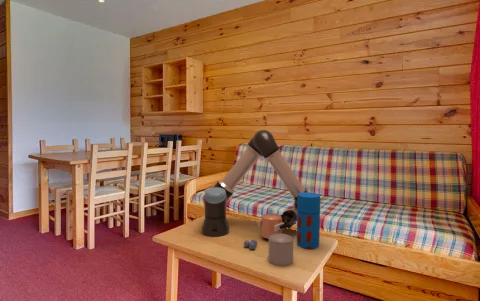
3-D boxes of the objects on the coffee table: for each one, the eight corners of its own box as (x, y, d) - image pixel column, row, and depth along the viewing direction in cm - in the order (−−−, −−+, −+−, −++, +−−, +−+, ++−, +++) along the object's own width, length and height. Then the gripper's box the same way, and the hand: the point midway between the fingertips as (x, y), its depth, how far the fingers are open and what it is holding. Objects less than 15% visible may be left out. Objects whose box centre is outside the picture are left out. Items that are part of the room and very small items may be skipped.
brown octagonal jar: (264, 260, 127) (264, 237, 126) (277, 253, 134) (278, 231, 134) (283, 268, 120) (283, 244, 119) (296, 260, 127) (297, 237, 127)
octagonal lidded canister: (257, 235, 152) (258, 216, 151) (269, 230, 159) (270, 212, 158) (273, 240, 145) (273, 221, 144) (285, 235, 152) (285, 216, 151)
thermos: (320, 250, 138) (321, 198, 135) (296, 248, 139) (297, 197, 137) (317, 241, 148) (319, 192, 146) (296, 239, 150) (297, 191, 148)
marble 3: (247, 249, 138) (247, 242, 138) (252, 247, 141) (252, 240, 141) (252, 251, 136) (252, 244, 136) (257, 249, 139) (257, 242, 138)
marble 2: (249, 246, 142) (249, 239, 142) (253, 244, 144) (253, 238, 144) (254, 248, 140) (254, 241, 139) (258, 246, 142) (258, 239, 142)
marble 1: (242, 247, 141) (242, 240, 141) (246, 245, 143) (246, 238, 143) (247, 249, 139) (247, 242, 138) (251, 246, 141) (251, 240, 141)
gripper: (308, 227, 157) (284, 239, 141) (274, 218, 172) (249, 227, 156) (309, 214, 156) (285, 224, 140) (275, 205, 172) (249, 214, 156)
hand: (266, 226), depth 148 cm, fingers closed on octagonal lidded canister, 10 cm apart
